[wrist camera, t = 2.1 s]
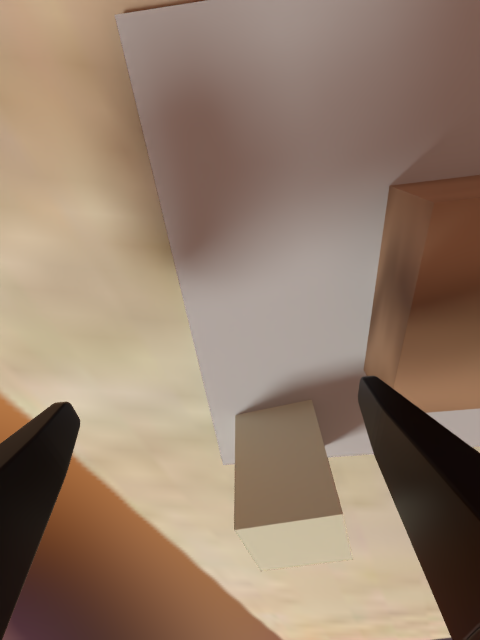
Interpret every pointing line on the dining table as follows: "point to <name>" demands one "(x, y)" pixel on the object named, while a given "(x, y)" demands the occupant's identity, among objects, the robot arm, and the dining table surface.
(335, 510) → the beige rectangular block
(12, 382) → the dining table surface
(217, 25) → the mat
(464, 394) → the plinth
